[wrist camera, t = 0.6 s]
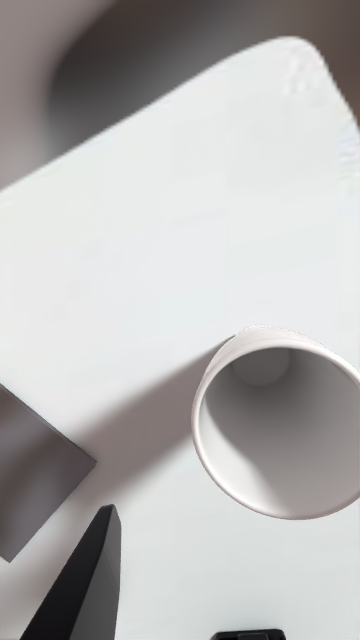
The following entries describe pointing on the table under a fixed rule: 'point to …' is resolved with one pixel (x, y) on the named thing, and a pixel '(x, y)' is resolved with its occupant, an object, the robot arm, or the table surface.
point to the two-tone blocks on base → (32, 472)
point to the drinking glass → (280, 424)
